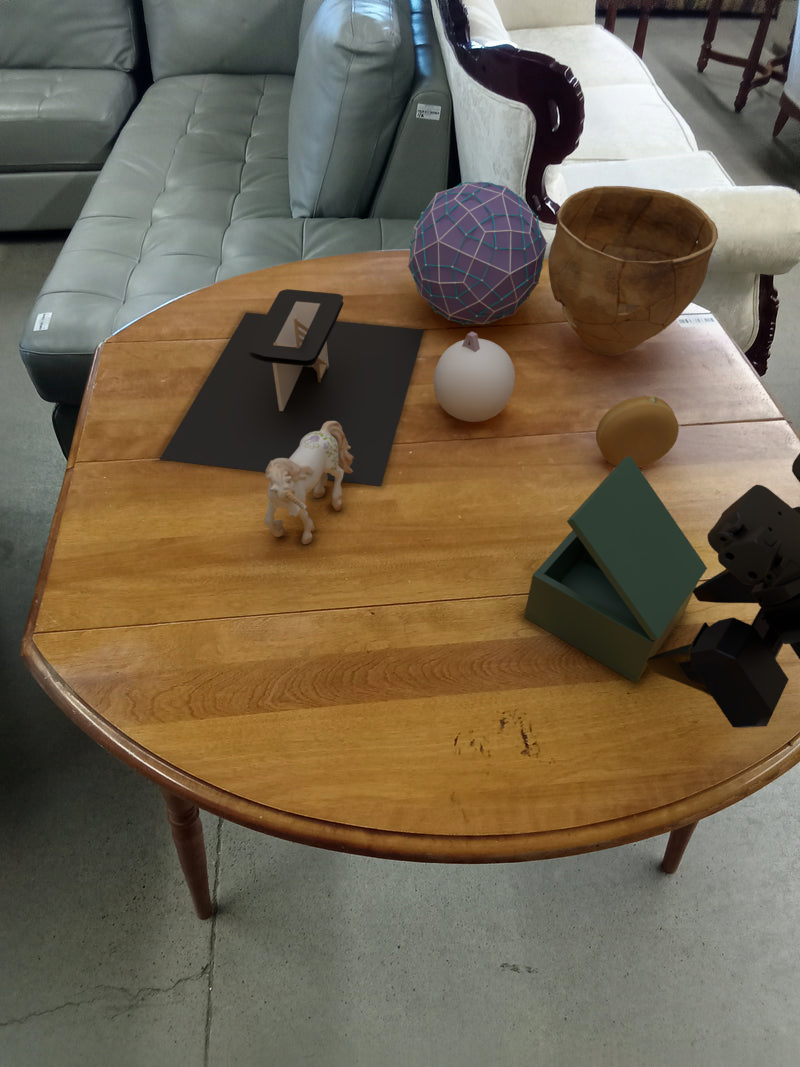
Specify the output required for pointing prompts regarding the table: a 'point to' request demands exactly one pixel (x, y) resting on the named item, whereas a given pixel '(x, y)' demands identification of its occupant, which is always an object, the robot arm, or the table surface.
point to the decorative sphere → (476, 253)
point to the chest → (591, 611)
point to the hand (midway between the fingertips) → (674, 628)
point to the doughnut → (637, 431)
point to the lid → (638, 547)
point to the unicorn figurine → (307, 476)
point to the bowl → (627, 263)
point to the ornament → (474, 379)
